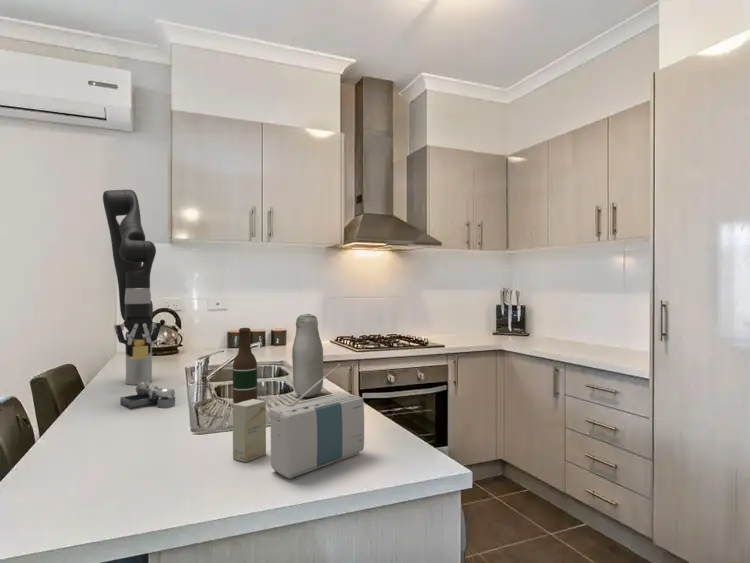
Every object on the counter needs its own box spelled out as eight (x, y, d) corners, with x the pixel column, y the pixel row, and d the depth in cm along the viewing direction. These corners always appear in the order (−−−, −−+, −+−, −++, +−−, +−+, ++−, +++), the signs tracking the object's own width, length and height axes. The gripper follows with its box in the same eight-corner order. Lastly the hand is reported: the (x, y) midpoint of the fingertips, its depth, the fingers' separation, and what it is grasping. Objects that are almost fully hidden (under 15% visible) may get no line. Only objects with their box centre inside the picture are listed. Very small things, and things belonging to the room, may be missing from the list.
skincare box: (246, 463, 103) (245, 406, 103) (231, 459, 106) (231, 404, 106) (267, 454, 109) (266, 400, 109) (253, 450, 111) (252, 398, 111)
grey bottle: (310, 391, 170) (309, 312, 170) (328, 396, 163) (328, 313, 163) (287, 396, 163) (286, 314, 163) (305, 401, 156) (304, 315, 156)
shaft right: (148, 407, 151) (148, 388, 151) (157, 403, 155) (157, 385, 155) (167, 408, 149) (167, 389, 149) (176, 404, 154) (176, 386, 154)
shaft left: (149, 400, 160) (149, 382, 160) (135, 401, 159) (134, 383, 159) (153, 395, 167) (153, 378, 167) (139, 396, 165) (139, 379, 165)
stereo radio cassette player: (289, 483, 93) (288, 380, 93) (265, 472, 99) (264, 374, 99) (366, 455, 108) (365, 366, 108) (341, 446, 114) (340, 361, 114)
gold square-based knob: (133, 359, 151) (133, 340, 151) (128, 358, 154) (128, 339, 154) (148, 358, 154) (148, 339, 154) (143, 356, 158) (143, 338, 158)
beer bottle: (227, 403, 155) (227, 328, 155) (242, 397, 162) (242, 326, 162) (247, 405, 152) (247, 329, 152) (262, 399, 159) (261, 327, 159)
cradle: (120, 404, 154) (120, 397, 154) (148, 399, 160) (148, 392, 160) (130, 409, 148) (130, 401, 148) (158, 404, 155) (158, 396, 155)
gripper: (117, 303, 147) (117, 359, 147) (165, 301, 157) (165, 354, 157) (110, 302, 152) (110, 357, 152) (156, 301, 162) (157, 352, 162)
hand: (138, 355), depth 154 cm, fingers closed on gold square-based knob, 4 cm apart
